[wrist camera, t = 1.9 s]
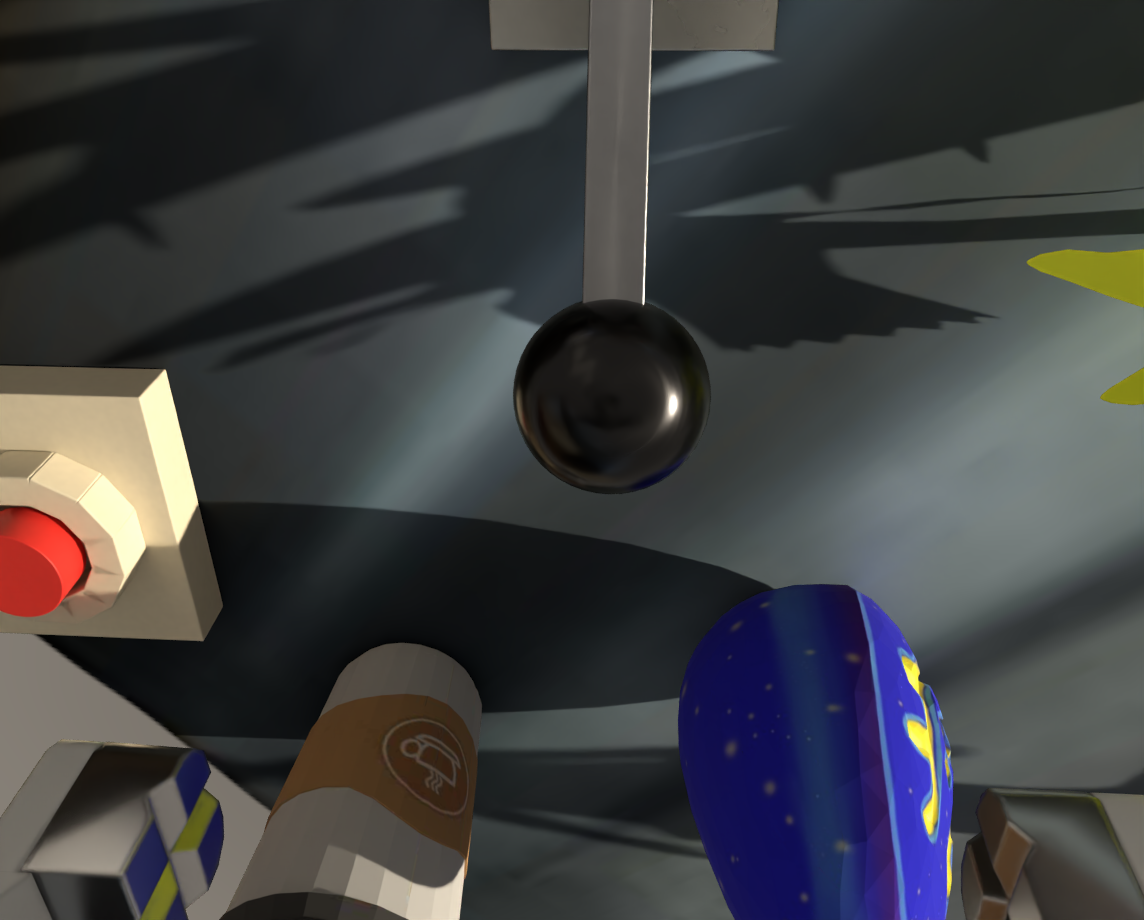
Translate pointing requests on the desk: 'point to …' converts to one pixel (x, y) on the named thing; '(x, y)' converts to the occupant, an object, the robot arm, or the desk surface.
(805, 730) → the ornament
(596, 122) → the lever
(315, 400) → the desk surface
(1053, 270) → the daffodil flowers
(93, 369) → the block
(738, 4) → the metal bracket
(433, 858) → the coffee cup
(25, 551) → the button
